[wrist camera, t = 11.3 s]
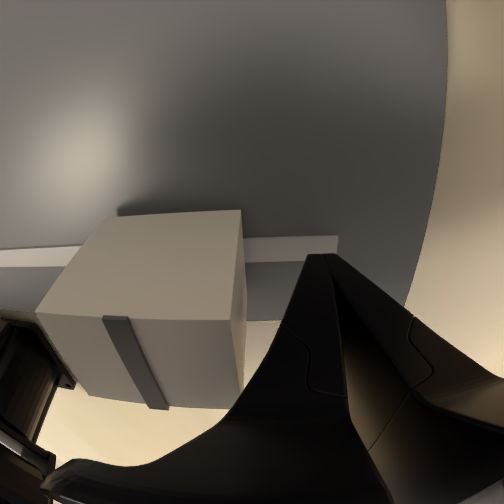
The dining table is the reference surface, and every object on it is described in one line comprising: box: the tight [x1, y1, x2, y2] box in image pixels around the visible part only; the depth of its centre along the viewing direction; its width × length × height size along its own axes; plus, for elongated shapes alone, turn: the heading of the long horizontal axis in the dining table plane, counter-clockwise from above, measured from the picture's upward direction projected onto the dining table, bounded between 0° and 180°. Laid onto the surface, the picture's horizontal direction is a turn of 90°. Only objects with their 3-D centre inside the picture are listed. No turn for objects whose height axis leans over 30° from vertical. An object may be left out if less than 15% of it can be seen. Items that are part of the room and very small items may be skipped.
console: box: [0, 0, 448, 321], centre depth 8 cm, size 16×28×3 cm, turn 93°
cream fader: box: [35, 210, 247, 410], centre depth 8 cm, size 3×4×4 cm
